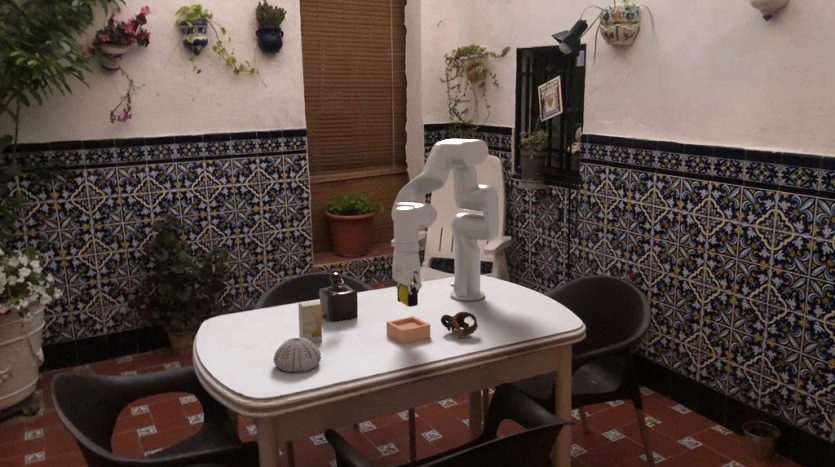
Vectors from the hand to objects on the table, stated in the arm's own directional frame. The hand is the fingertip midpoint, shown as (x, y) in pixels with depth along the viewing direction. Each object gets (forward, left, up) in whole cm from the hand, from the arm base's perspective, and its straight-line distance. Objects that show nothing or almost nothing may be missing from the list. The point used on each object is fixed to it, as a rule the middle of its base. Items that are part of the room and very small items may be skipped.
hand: (407, 302), depth 212 cm
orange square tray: (0, 0, -11) cm, 11 cm away
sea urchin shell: (+2, -38, -11) cm, 40 cm away
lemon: (0, 0, -1) cm, 1 cm away
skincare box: (-14, -27, -11) cm, 32 cm away
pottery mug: (+7, +14, -11) cm, 20 cm away
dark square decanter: (-28, -10, -11) cm, 32 cm away
